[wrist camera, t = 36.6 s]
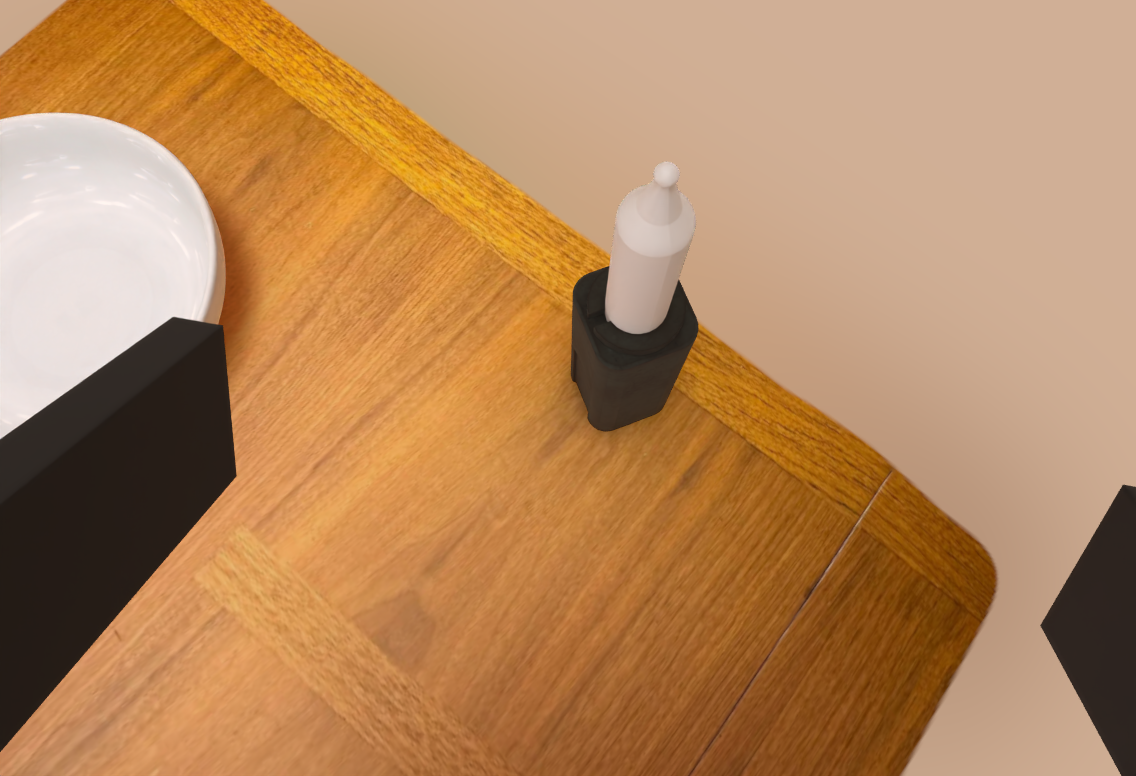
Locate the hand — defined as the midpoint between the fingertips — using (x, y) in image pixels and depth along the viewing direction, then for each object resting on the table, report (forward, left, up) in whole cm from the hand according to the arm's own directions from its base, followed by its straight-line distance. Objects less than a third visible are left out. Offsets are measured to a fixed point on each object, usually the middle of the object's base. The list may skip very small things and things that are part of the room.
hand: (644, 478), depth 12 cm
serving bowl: (+34, +8, -36) cm, 50 cm away
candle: (+6, -10, -36) cm, 38 cm away
